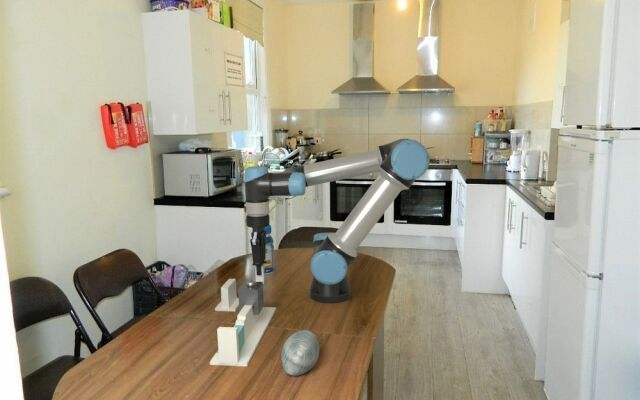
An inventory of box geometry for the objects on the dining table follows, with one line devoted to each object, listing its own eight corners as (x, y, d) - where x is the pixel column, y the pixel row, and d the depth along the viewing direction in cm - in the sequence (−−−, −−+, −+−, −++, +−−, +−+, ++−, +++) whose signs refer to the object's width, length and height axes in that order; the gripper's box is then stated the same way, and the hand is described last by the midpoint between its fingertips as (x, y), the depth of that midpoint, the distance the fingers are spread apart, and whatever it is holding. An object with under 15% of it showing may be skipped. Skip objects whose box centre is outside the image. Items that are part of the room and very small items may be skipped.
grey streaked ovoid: (288, 338, 131) (300, 314, 126) (318, 355, 130) (331, 332, 125) (267, 373, 119) (279, 348, 114) (300, 393, 118) (314, 368, 113)
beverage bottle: (278, 271, 199) (277, 224, 196) (266, 276, 192) (264, 229, 189) (263, 267, 204) (261, 222, 200) (250, 273, 197) (248, 226, 193)
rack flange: (276, 309, 159) (275, 281, 157) (247, 366, 122) (245, 330, 121) (247, 308, 160) (246, 280, 158) (210, 364, 124) (207, 329, 122)
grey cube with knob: (263, 305, 149) (262, 278, 148) (258, 315, 142) (257, 286, 141) (245, 305, 150) (244, 277, 148) (239, 314, 143) (238, 285, 142)
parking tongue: (243, 300, 168) (242, 278, 166) (235, 311, 158) (234, 288, 156) (224, 299, 168) (223, 278, 167) (215, 310, 159) (213, 288, 157)
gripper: (251, 210, 160) (254, 276, 164) (240, 218, 147) (244, 289, 151) (273, 210, 159) (275, 277, 163) (264, 218, 146) (266, 290, 150)
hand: (260, 283), depth 157 cm, fingers closed
